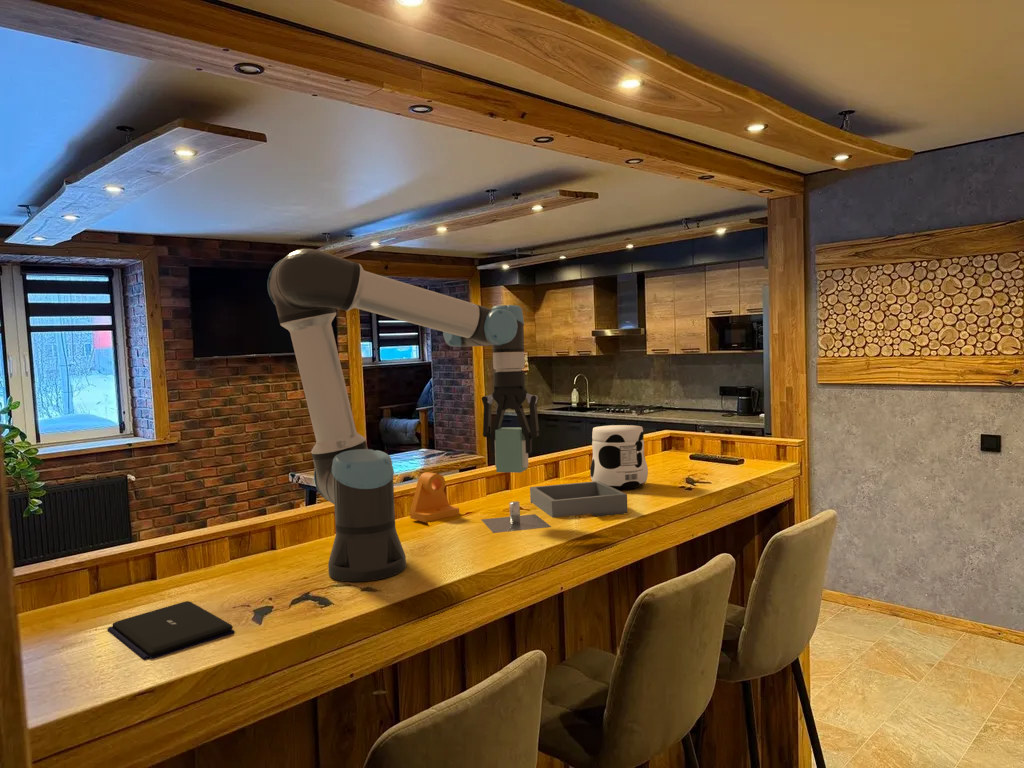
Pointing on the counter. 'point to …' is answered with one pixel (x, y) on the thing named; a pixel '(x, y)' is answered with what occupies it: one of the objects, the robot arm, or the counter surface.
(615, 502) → the bin
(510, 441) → the green rectangular block
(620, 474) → the milk container
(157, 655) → the laptop
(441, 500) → the bracket
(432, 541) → the counter surface
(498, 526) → the base
